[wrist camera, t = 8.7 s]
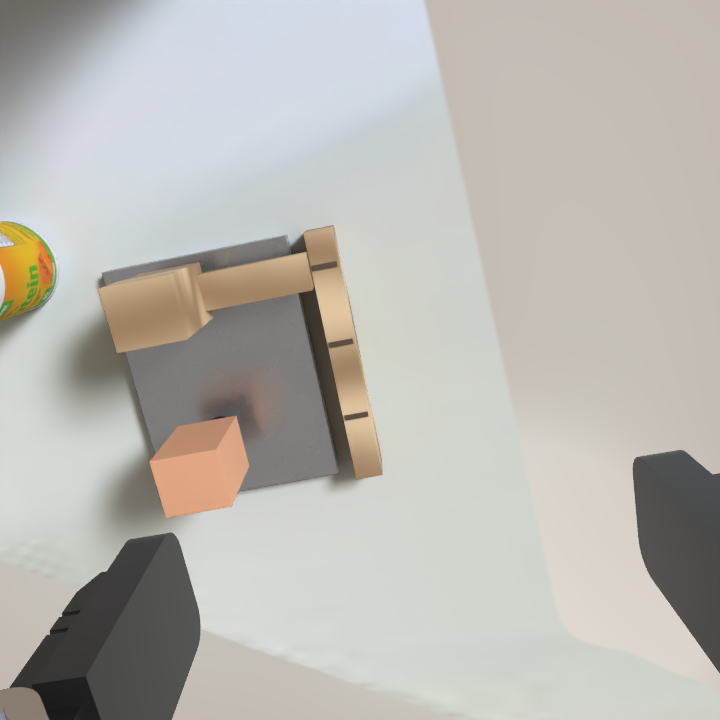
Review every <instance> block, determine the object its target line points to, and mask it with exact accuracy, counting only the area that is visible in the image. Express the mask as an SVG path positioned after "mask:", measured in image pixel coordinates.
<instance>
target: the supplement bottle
mask: <svg viewBox="0 0 720 720" xmlns="http://www.w3.org/2000/svg"><path fill="white" fill-rule="evenodd" d="M58 279H59V265H58V260H57V257H56V254H55V252H54V250H53V248H52V246H51V245H50V243H49V242H48V241H47V240H46V239H45V238H44V237H43V236H42V235H41V234H40V233H39V232H37V231H36V230H34V229H33V228H31V227H29V226H27V225H24V224H21V223H17V222H3V221H2V222H0V321H2V320H4V319H7V318H10V317H13V316H16V315H19V314H22V313H25V312H28V311H31V310H33V309H36V308H38V307H39V306H41V305H43V304H44V303H45V302H46V301H47V300H48V299H49V298H50V297H51V296H52V294H53V293H54V291H55V289H56V287H57V284H58Z"/></svg>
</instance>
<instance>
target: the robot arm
mask: <svg viewBox="0 0 720 720" xmlns="http://www.w3.org/2000/svg"><path fill="white" fill-rule="evenodd" d="M633 480H634V491H635V503H636V515H637V526H638V538H639V545H640V550H641V554H642V557H643V560H644V563H645V566H646V568H647V571H648V573H649V574H650V576H651V578H652V579H653V581H654V582H655V584H656V585H657V586H658V588H659V589H660V591H661V592H662V593H663V595H664V596H665V598H666V599H667V600H668V602H669V603H670V605H671V606H672V607H673V609H674V610H675V611H676V613H677V614H678V616H679V617H680V618H681V620H682V621H683V623H684V624H685V625H686V627H687V628H688V629H689V631H690V632H691V634H692V635H693V636H694V638H695V639H696V641H697V642H698V644H699V645H700V646H701V648H702V649H703V651H704V652H705V653H706V655H707V656H708V657H709V659H710V660H711V662H712V663H713V664H714V666H715V667H716V669H717V670H718V671H719V673H720V474H713V475H712V474H711V473H710V472H709V471H708V470H706V469H705V468H704V467H703V466H702V465H700V464H699V463H698V462H697V461H696V460H694V459H693V458H692V457H691V456H690V455H689V454H687V453H686V452H685V451H683V450H677V451H672V452H665V453H659V454H653V455H647V456H641V457H637V458H635V460H634V463H633ZM199 640H200V615H199V610H198V606H197V602H196V599H195V595H194V592H193V588H192V585H191V581H190V578H189V574H188V571H187V567H186V564H185V560H184V557H183V553H182V550H181V547H180V544H179V541H178V539H177V537H176V536H175V535H174V534H173V533H166V534H160V535H154V536H148V537H142V538H136V539H130V540H128V541H127V542H126V543H125V545H124V546H123V548H122V549H121V551H120V552H119V554H118V555H117V557H116V558H115V560H114V561H113V563H112V564H111V566H110V567H109V569H108V570H107V572H101V573H100V574H99V575H97V576H96V577H95V578H94V579H92V580H91V581H90V582H89V583H88V584H86V585H85V586H84V587H83V588H81V589H80V590H79V591H78V592H77V593H76V594H75V596H74V597H73V598H72V600H71V601H70V603H69V604H68V606H67V607H66V608H65V610H64V611H63V613H62V617H59V618H58V620H57V621H56V622H55V624H54V625H53V627H52V628H51V630H50V635H47V636H46V637H45V638H44V639H43V641H42V642H41V644H40V645H39V647H38V648H37V649H36V651H35V652H34V654H33V655H32V657H31V658H30V659H29V661H28V662H27V664H26V665H25V666H24V668H23V669H22V671H21V672H20V674H19V675H18V677H17V678H16V679H15V681H14V682H13V683H12V685H11V686H10V688H9V689H3V690H0V720H172V717H173V714H174V712H175V709H176V706H177V703H178V701H179V698H180V695H181V692H182V690H183V687H184V684H185V681H186V678H187V676H188V673H189V670H190V668H191V665H192V662H193V659H194V657H195V654H196V651H197V648H198V645H199Z"/></svg>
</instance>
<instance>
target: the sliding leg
mask: <svg viewBox="0 0 720 720" xmlns="http://www.w3.org/2000/svg"><path fill="white" fill-rule="evenodd" d="M149 462H150V466H151V469H152V472H153V476H154V479H155V483H156V486H157V489H158V493H159V496H160V499H161V503H162V506H163V510H164V513H165V516H166V518H170V517H176V516H181V515H187V514H193V513H198V512H204V511H209V510H215V509H221V508H226V507H232V505H233V502H234V500H235V498H236V495H237V493H238V491H239V488H240V486H241V484H242V482H243V479H244V477H245V475H246V472H247V470H248V468H249V463H248V459H247V455H246V451H245V447H244V443H243V440H242V436H241V432H240V428H239V424H238V420H237V416H231V417H225V418H220V419H214V420H209V421H204V422H198V423H193V424H188V425H182V426H178V427H177V428H176V429H175V431H174V432H173V433H172V434H171V436H170V437H169V438H168V439H167V440H166V442H165V443H164V444H163V445H162V447H161V448H160V449H159V450H158V452H157V453H156V454H155V455H154V457H153V458H152V459H151V460H150V461H149Z"/></svg>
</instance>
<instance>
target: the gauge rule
mask: <svg viewBox="0 0 720 720" xmlns="http://www.w3.org/2000/svg"><path fill="white" fill-rule="evenodd" d="M303 235H304V239H305V244H306V248H307V252H302V253H297V254H292V255H287V256H282V257H277V258H272V259H267V260H262V261H258V262H253V263H248V264H243V265H238V266H233V267H228V268H223V269H218V270H213V271H208V272H203V273H202V271H201V267H200V263H199V262H197V263H192V264H187V265H182V266H177V267H172V268H167V269H162V270H157V271H152V272H147V273H142V274H138V275H135V276H132V277H130V278H127V279H124V280H121V281H118V282H116V283H113V284H110V285H107V286H105V287H102V288H99V289H98V291H99V294H100V297H101V301H102V304H103V308H104V311H105V314H106V318H107V321H108V324H109V328H110V331H111V335H112V338H113V341H114V345H115V348H116V351H117V353H121V352H126V351H132V350H137V349H142V348H147V347H152V346H157V345H162V344H168V343H173V342H178V341H183V340H187V339H188V338H189V337H191V336H192V335H193V334H194V333H196V332H197V331H198V330H199V329H201V328H202V327H203V326H204V325H205V324H207V323H208V322H209V321H210V320H212V319H213V314H212V310H215V309H220V308H225V307H230V306H235V305H240V304H245V303H250V302H256V301H261V300H266V299H271V298H276V297H281V296H286V295H291V294H296V293H301V292H306V291H311V290H313V288H314V285H315V290H316V295H317V299H318V304H319V308H320V313H321V318H322V322H323V327H324V332H325V336H326V341H327V345H328V350H329V355H330V359H331V364H332V369H333V373H334V378H335V382H336V387H337V392H338V396H339V401H340V406H341V410H342V415H343V419H344V424H345V429H346V433H347V438H348V442H349V447H350V452H351V456H352V461H353V466H354V470H355V475H356V479H362V478H367V477H373V476H379V475H382V459H381V454H380V449H379V444H378V439H377V434H376V429H375V424H374V419H373V415H372V410H371V405H370V400H369V395H368V390H367V385H366V380H365V376H364V371H363V366H362V361H361V356H360V351H359V346H358V341H357V336H356V332H355V327H354V322H353V317H352V312H351V307H350V302H349V297H348V292H347V288H346V283H345V278H344V273H343V268H342V263H341V258H340V253H339V249H338V244H337V239H336V234H335V229H334V225H332V226H327V227H322V228H318V229H313V230H308V231H306V232H304V233H303ZM307 253H308V257H307ZM308 258H309V261H308ZM309 262H310V266H309ZM310 267H311V271H310ZM311 272H312V275H311ZM312 276H313V280H312ZM313 281H314V284H313Z"/></svg>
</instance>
